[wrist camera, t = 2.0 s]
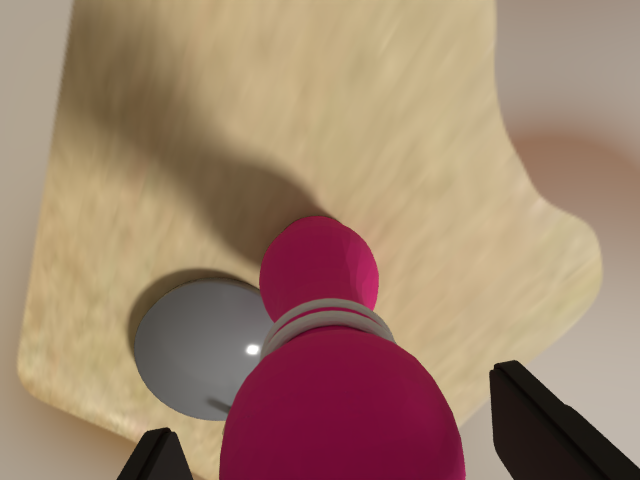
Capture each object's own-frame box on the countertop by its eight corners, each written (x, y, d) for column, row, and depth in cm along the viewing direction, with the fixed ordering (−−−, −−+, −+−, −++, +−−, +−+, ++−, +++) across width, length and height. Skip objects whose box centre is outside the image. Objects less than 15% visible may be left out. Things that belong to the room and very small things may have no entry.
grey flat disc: (119, 294, 23) (91, 315, 20) (276, 264, 23) (272, 280, 20) (169, 421, 27) (151, 455, 23) (307, 394, 27) (308, 425, 23)
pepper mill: (277, 307, 24) (180, 889, 5) (258, 217, 22) (-22, 602, 3) (369, 291, 24) (618, 809, 5) (357, 200, 22) (685, 477, 3)
